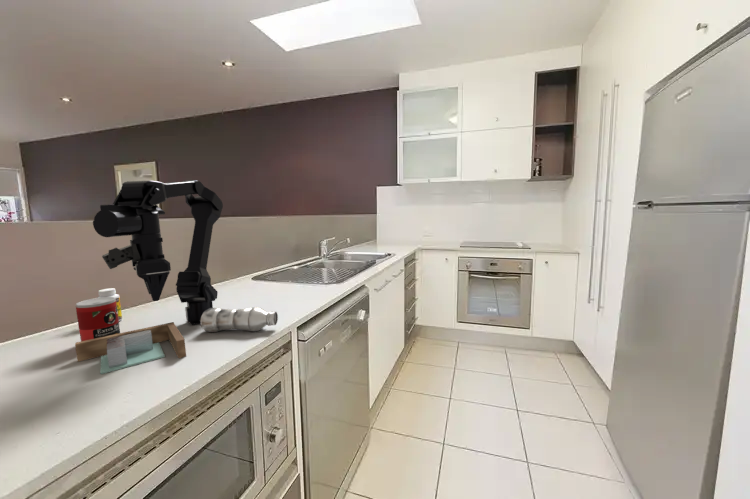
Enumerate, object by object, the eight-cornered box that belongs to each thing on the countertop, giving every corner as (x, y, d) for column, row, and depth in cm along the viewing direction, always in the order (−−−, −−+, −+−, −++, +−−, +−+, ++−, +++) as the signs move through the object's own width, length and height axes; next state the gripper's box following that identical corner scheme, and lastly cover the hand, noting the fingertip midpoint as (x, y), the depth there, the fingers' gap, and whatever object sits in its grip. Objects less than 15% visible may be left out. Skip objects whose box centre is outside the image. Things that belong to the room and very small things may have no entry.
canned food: (98, 349, 76) (92, 305, 75) (72, 347, 78) (66, 304, 77) (128, 337, 84) (123, 297, 82) (104, 335, 85) (99, 296, 84)
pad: (159, 343, 79) (158, 342, 79) (164, 357, 71) (164, 355, 71) (101, 357, 72) (101, 356, 72) (100, 374, 64) (100, 372, 64)
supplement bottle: (116, 324, 94) (111, 291, 93) (94, 326, 93) (89, 292, 92) (126, 318, 100) (122, 286, 99) (106, 320, 99) (101, 288, 97)
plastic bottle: (213, 317, 91) (281, 316, 91) (203, 337, 86) (275, 335, 85) (204, 302, 87) (275, 301, 87) (193, 322, 82) (269, 320, 81)
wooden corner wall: (175, 336, 83) (173, 321, 83) (186, 356, 71) (184, 339, 71) (78, 359, 71) (75, 342, 71) (72, 387, 59) (69, 367, 59)
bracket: (109, 355, 72) (107, 338, 71) (152, 345, 77) (150, 329, 76) (109, 368, 66) (106, 350, 65) (155, 356, 71) (153, 339, 70)
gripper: (102, 234, 77) (110, 296, 79) (101, 238, 63) (111, 313, 65) (157, 232, 85) (163, 288, 86) (167, 234, 70) (174, 302, 72)
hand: (153, 297), depth 77 cm, fingers open, 9 cm apart
